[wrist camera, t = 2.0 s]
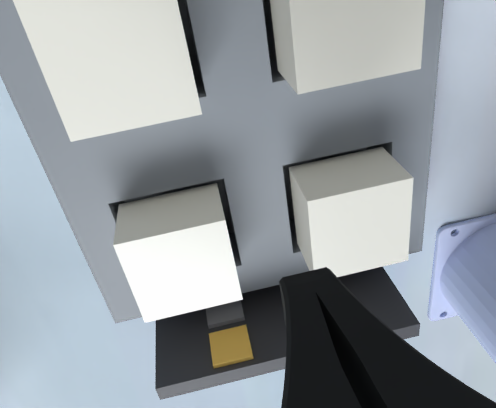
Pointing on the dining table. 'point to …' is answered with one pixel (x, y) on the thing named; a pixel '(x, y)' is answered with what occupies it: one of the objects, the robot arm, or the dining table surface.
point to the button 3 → (345, 40)
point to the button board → (230, 177)
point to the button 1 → (112, 62)
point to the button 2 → (177, 252)
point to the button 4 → (352, 211)
